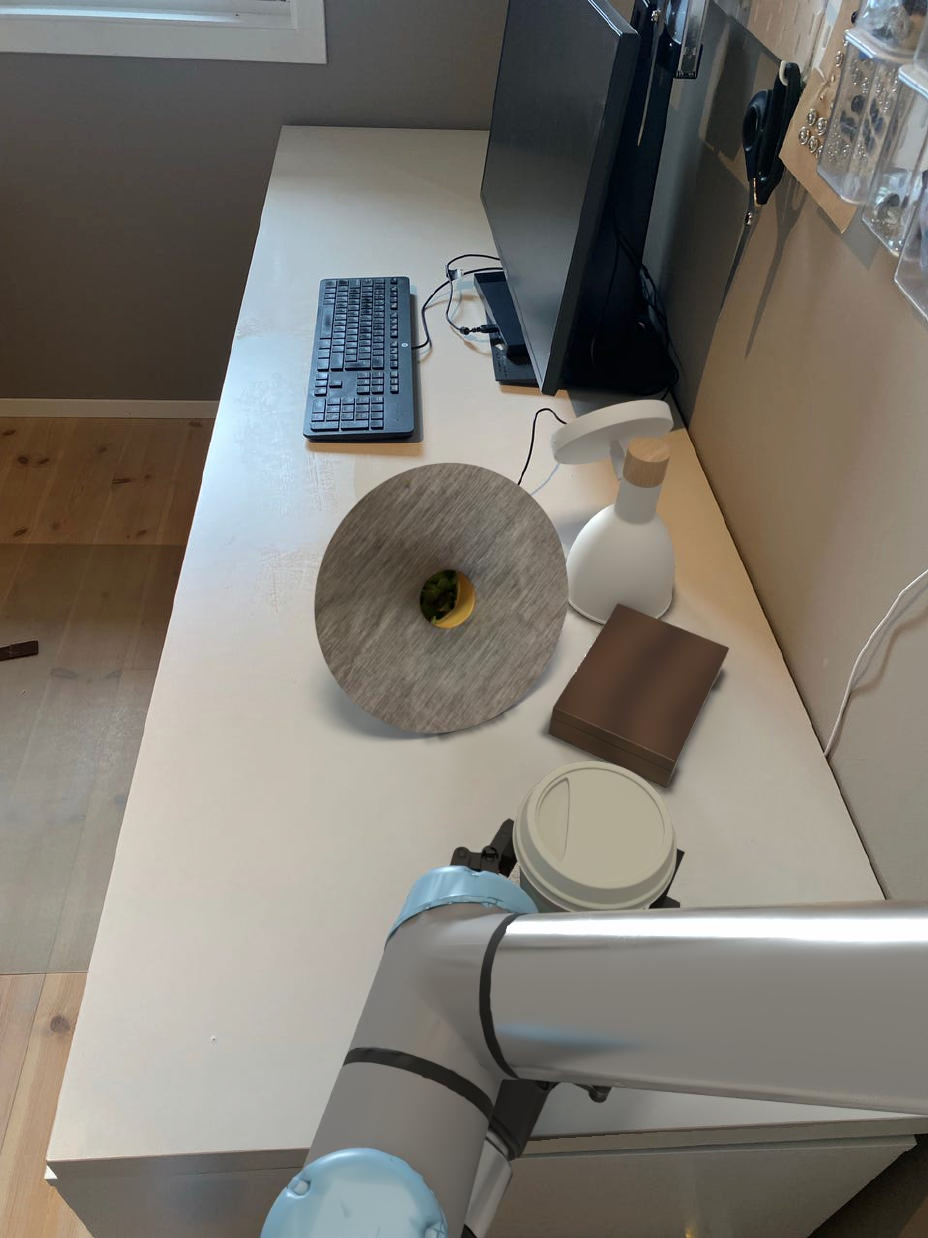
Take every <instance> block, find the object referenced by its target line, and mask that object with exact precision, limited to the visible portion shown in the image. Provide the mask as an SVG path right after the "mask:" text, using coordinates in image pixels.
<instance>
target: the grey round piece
mask: <svg viewBox="0 0 928 1238" xmlns="http://www.w3.org/2000/svg"><path fill="white" fill-rule="evenodd" d="M335 529H336V530H335V531H334V533H333V535H332V537H331V538H330V541H329V542H328V544H327V546H326V549H325V552H324V554H323V556H322V558H321V559H322V560H321V564H320V566H319V569H318V572H317V573H318V574H317V577H316V582H315V588H314V589H315V591H314V602H313V603H314V605H313V606H314V607H313V609H314V612H313V613H314V614H313V615H314V625H315V633H316V637H317V641H318V645H319V649H320V651H321V654H322V656H323V658H324V661H325V663H326V666H327V667H328V669H329V672H330V673H331V675H332V677H333V678H334V680H335V682H336V683H337V684H338V686H339V687H340V688H341V690H342V691H343V693H345V694H346V695H347V697H349V699H351V701H352V702H353V703H354V704H355V705H357V706H358V707H359V708H360V709H361V710H363V711H364V712H366V713H367V714H368V715H370V716H372V717H374V718H375V719H377V720H378V721H380V722H383V723H384V724H387V725H389V726H391V727H395V728H398V729H401V730H405V731H408V732H414V733H415V732H416V733H422V734H442V733H450V732H457V731H461V730H467V729H469V728H472V727H475V726H479V725H480V724H483V723H485V722H487V721H489V720H491V719H493V718H495V717H497V716H499V715H501V714H502V713H503V712H505V711H506V710H508V709H509V708H510V707H512V706H513V705H514V704H516V703H517V702H518V701H519V700H520V699H521V698H522V697H523V696H524V695H525V694H526V693H527V692H528V691H529V690H530V689H531V688H532V686H533V685H534V684H535V683H536V682H537V680H538V679H539V678H540V677H541V676H542V674H543V673H544V671H545V670H546V669H547V667H548V665H549V663H550V661H551V660H552V659H553V656H554V653H555V651H556V648H557V647H558V644H559V642H560V639H561V635H562V631H563V630H562V629H563V626H564V623H565V620H566V617H567V612H568V607H569V602H568V599H569V587H568V576H567V569H566V562H567V560H566V556H565V553H564V552H565V551H564V548H563V545H562V541H561V539H560V536H559V534H558V531H557V529H556V528H555V525H554V524H553V522H552V520H551V518H550V517H549V516H548V513H546V511H545V509H543V507H542V506H541V505H540V503H538V501H536V499H535V498H534V497H533V496H532V495H531V494H530V493H529V492H528V491H527V490H525V488H523V487H522V486H520V485H519V484H518V483H516V482H515V481H513V480H512V479H510V478H509V477H507V476H505V475H502V474H501V473H498V472H497V471H494V470H492V469H489V468H486V467H482V466H478V465H474V464H469V463H463V462H462V463H461V462H438V463H430V464H425V465H421V466H416V467H413V468H410V469H408V470H405V471H402V472H400V473H398V474H396V475H393V476H392V477H390V478H388V479H385V481H383V482H381V483H380V484H378V485H377V486H375V487H374V488H373V489H371V490H370V491H369V492H367V493H366V494H365V495H364V496H363V497H362V498H361V499H359V500H358V502H356V504H355V505H353V507H352V508H351V509H350V510H349V511H348V512H347V514H346V515H345V516H344V518H343V519H342V520H341V522H340V523H339V524H338V526H337V528H335Z"/></svg>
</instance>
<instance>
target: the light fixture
mask: <svg viewBox="0 0 928 1238" xmlns="http://www.w3.org/2000/svg"><path fill="white" fill-rule="evenodd" d="M673 427H674V420H673V416H672V413H671V409H670V406H669V404H668V403H667V402H665V401H663V400H658V399H639V400H632V401H626V402H621V403H616V404H613V405H609V406H606V407H603V408H600V409H596V410H593V411H591V412H587V413H586V414H583V415H581V416H579V417H577V418H574V419H573V420H571V421H568V422H567V423H565V424H564V425H562V426H561V427H559V428H558V429H557V430H555V432H553V434H551V436H550V438H549V444H550V448H551V452H552V456H553V459H554V462H556V463H558V464H562V465H568V466H569V465H571V466H573V465H586V464H593V463H599V462H603V461H607V460H611V464H612V467H613V471H614V475H615V478H616V481H617V482H618V481H620V482H619V486H618V491H617V495H616V500H615V502H614V503H612V504H610V505H607V506H606V507H604V508H603V509H602V510H600V511H599V512H598V513H596V514H595V515H594V516H592V518H591V519H589V521H588V522H587V523H586V524H585V525H584V526H583V527H582V529H581V530H580V532H579V533H578V535H577V537H576V539H575V540H574V542H573V544H572V545H571V548H570V550H569V553H568V556H567V559H566V569H567V576H568V587H569V599H568V604H569V605H570V606H571V607H572V608H573V609H574V610H575V611H576V612H578V613H579V614H580V615H582V616H583V617H585V618H587V619H589V620H590V621H593V622H595V623H598V624H601V625H604V624H605V623H606V621H607V619H608V618H609V616H610V615H611V613H612V611H613V610H614V608H615V607H616V605H617V604H618V603H619V604H621V605H624V606H626V607H629V608H631V609H634V610H636V611H639V612H641V613H644V614H646V615H649V616H651V617H654V618H656V619H660V618H661V617H662V616H663V615H664V614H665V613H666V612H667V611H668V609H669V608H670V605H671V603H672V598H673V589H674V583H675V576H676V557H675V550H674V544H673V541H672V538H671V535H670V532H669V530H668V528H667V525H666V524H665V522H664V521H663V519H662V517H661V516H660V515H659V514H658V513H657V511H656V510H657V506H658V502H659V498H660V495H661V492H662V491H661V490H662V487H663V483H664V480H665V478H666V477H665V476H666V472H667V469H668V465H669V461H670V458H671V448H670V447H669V445H668V444H667V443H666V442H664V441H662V440H661V439H662V438H664V437H665V436H667V434H669V432H671V430H672V429H673Z"/></svg>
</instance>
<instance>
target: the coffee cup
mask: <svg viewBox="0 0 928 1238" xmlns="http://www.w3.org/2000/svg"><path fill="white" fill-rule="evenodd" d="M671 817H672V816H671V813H670V812H669V808H668V807H667V805H666V803H665V801H664V800H663V798H662V797H661V795H660V793H658V791H657V790H656V788H654V787H653V786H652V785H651V784H650V783H648V781H646V780H645V779H644V778H643V777H642V776H641V775H638V774H636V773H634V772H632V771H630V770H628V769H625V768H623V767H621V766H619V765H617V764H614V763H611V762H604V761H596V760H585V761H577V762H572V763H568V764H564V765H562V766H560V767H558V768H556V769H554V770H552V771H551V772H549V773H548V774H547V775H546V776H544V777H543V778H542V779H541V780H540V781H539V782H537V783H536V784H535V785H534V786H533V787H532V788H531V789H530V790H529V792H528V793H527V794H526V795H525V797H524V798H523V801H522V802H521V804H520V806H519V808H518V810H517V812H516V815H515V818H514V820H513V821H514V826H513V846H514V851H515V855H516V858H517V863H518V867H519V887H520V888H521V889H522V890H524V891H525V892H526V894H527V895H528V896H529V897H530V898H531V899H532V900H533V902H534V903H535V905H536V907H537V910H538V912H539V913H559V912H585V911H611V910H636V909H647V907H649V906H650V904H651V903H653V902H654V901H655V900H656V899H657V898H658V897H659V896H660V895H661V894H662V893H663V892H664V891H665V889H666V888H667V886H668V884H669V883H670V881H671V878H672V876H673V873H674V870H675V865H676V854H677V849H678V843H677V836H676V831H675V827H674V824H673V821H672V818H671Z"/></svg>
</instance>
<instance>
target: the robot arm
mask: <svg viewBox="0 0 928 1238" xmlns="http://www.w3.org/2000/svg"><path fill="white" fill-rule="evenodd" d="M514 821H515V820H513V819H511V818H507V819H506V820H504V821H503V822H502V823H501V825H500V826H499V829H498V830H497V832H496V833H495V835H494V837H493V838H492V840H491V841H490V843H489V844H488V845H485V846H484V847H483V848H482V849H481V851H480V852H476V851H470V849H469V848H468V847H466V846H458V847H456V848H455V849H454V850H453V853H452V856H451V859H450V863H449V865H444V866H440V867H436V868H433V869H431V870H428V871H427V872H425V873H423V874H422V875H421V876H420V877H419V878H417V880H416V881H415V882H414V884H413V885H412V887H411V888H410V890H409V893H408V895H407V897H406V899H405V902H404V903H403V906H402V907H401V910H400V912H399V914H398V916H397V919H396V920H395V923H394V924H393V926H392V927H391V929H390V931H389V932H388V934H387V937H386V940H385V942H384V943H385V944H384V947H383V953H382V956H381V959H380V962H379V964H378V967H377V970H376V972H375V975H374V978H373V981H372V983H371V985H370V986H371V987H370V990H369V992H368V995H367V997H366V1000H365V1003H364V1006H363V1009H362V1011H361V1014H360V1017H359V1019H358V1023H357V1025H356V1028H355V1030H354V1033H353V1036H352V1039H351V1041H350V1045H349V1046H348V1049H347V1053H346V1055H345V1057H344V1060H343V1063H342V1065H341V1067H340V1069H339V1071H338V1074H337V1077H336V1079H335V1082H334V1084H333V1087H332V1090H331V1093H330V1095H329V1097H328V1100H327V1103H326V1105H325V1108H324V1111H323V1113H322V1116H321V1119H320V1121H319V1124H318V1127H317V1129H316V1131H315V1135H314V1137H313V1140H312V1143H311V1145H310V1148H309V1151H308V1152H307V1155H306V1158H305V1161H304V1164H303V1166H302V1169H301V1171H300V1172H298V1174H296V1175H294V1177H292V1179H291V1180H290V1182H289V1183H288V1184H287V1185H286V1186H285V1187H284V1188H283V1189H282V1190H281V1192H280V1193H279V1195H278V1196H277V1198H276V1199H275V1201H274V1202H273V1204H272V1206H271V1208H270V1209H269V1212H268V1213H267V1216H266V1217H265V1221H264V1223H263V1226H262V1229H261V1231H260V1232H261V1233H260V1235H259V1238H486V1236H487V1234H488V1232H489V1229H490V1227H491V1225H492V1223H493V1221H494V1218H495V1216H496V1214H497V1211H498V1210H499V1207H500V1205H501V1202H502V1201H503V1199H504V1196H505V1194H506V1191H507V1189H508V1187H509V1185H510V1183H511V1181H512V1179H513V1174H514V1173H513V1168H512V1164H511V1163H510V1162H512V1161H515V1160H516V1159H519V1158H520V1157H522V1156H523V1153H524V1151H525V1149H526V1147H527V1145H528V1142H529V1140H530V1137H531V1136H532V1133H533V1131H534V1129H535V1126H536V1124H537V1122H538V1120H539V1118H540V1115H541V1113H542V1112H543V1111H542V1110H543V1108H544V1106H545V1105H546V1101H547V1100H548V1098H549V1096H550V1094H551V1092H552V1091H553V1090H554V1089H555V1088H557V1086H559V1085H560V1084H562V1083H564V1084H572V1085H574V1086H576V1087H578V1088H580V1089H582V1090H584V1091H587V1094H588V1097H589V1098H590V1100H591V1101H592V1102H594V1103H596V1104H602V1103H604V1102H606V1100H607V1098H608V1097H609V1095H610V1093H611V1091H612V1088H617V1089H619V1088H620V1089H627V1090H641V1091H652V1092H664V1093H672V1094H673V1093H674V1094H685V1095H695V1096H706V1097H707V1096H708V1097H717V1098H718V1097H719V1098H727V1099H740V1100H748V1101H749V1100H751V1101H762V1102H770V1103H771V1102H773V1103H783V1104H792V1105H793V1104H796V1105H807V1106H816V1107H827V1108H838V1109H839V1108H840V1109H849V1110H861V1111H872V1112H874V1111H875V1112H882V1113H892V1114H893V1113H894V1114H907V1115H914V1116H915V1115H916V1116H927V1117H928V897H922V898H919V897H918V898H896V899H895V898H894V899H872V900H871V899H869V900H868V899H867V900H846V901H845V900H843V901H842V900H841V901H818V902H796V903H795V902H794V903H793V902H792V903H769V904H744V905H742V904H741V905H740V904H739V905H722V906H721V905H720V906H719V905H717V906H716V905H715V906H689V907H681V902H680V901H678V900H676V899H674V898H672V897H670V896H668V893H669V891H670V889H671V886H672V884H673V883H674V879H675V877H676V875H677V873H678V870H679V868H680V866H681V863H682V861H683V858H684V856H685V853H686V852H685V851H683V850H682V849H680V848H677V854H676V865H675V870H674V873H673V876H672V878H671V881H670V883H669V884H668V886H667V888H666V889H665V891H664V892H663V893H662V894H661V895H660V896H659V897H658V898H657V899H656V900H655V901H654V902H653V903H651V904H650V905H648V908H645V909H636V910H611V911H585V912H559V913H539V912H538V910H537V907H536V905H535V903H534V902H533V900H532V899H531V898H530V897H529V896H528V895H527V894H526V892H525V891H524V890H522V889H521V888H520V885H517V884H516V883H514V882H513V881H511V880H510V879H509V877H510V875H511V874H512V872H513V871H514V868H515V867H516V865H517V863H518V861H517V858H516V855H515V851H514V846H513V826H514Z"/></svg>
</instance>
